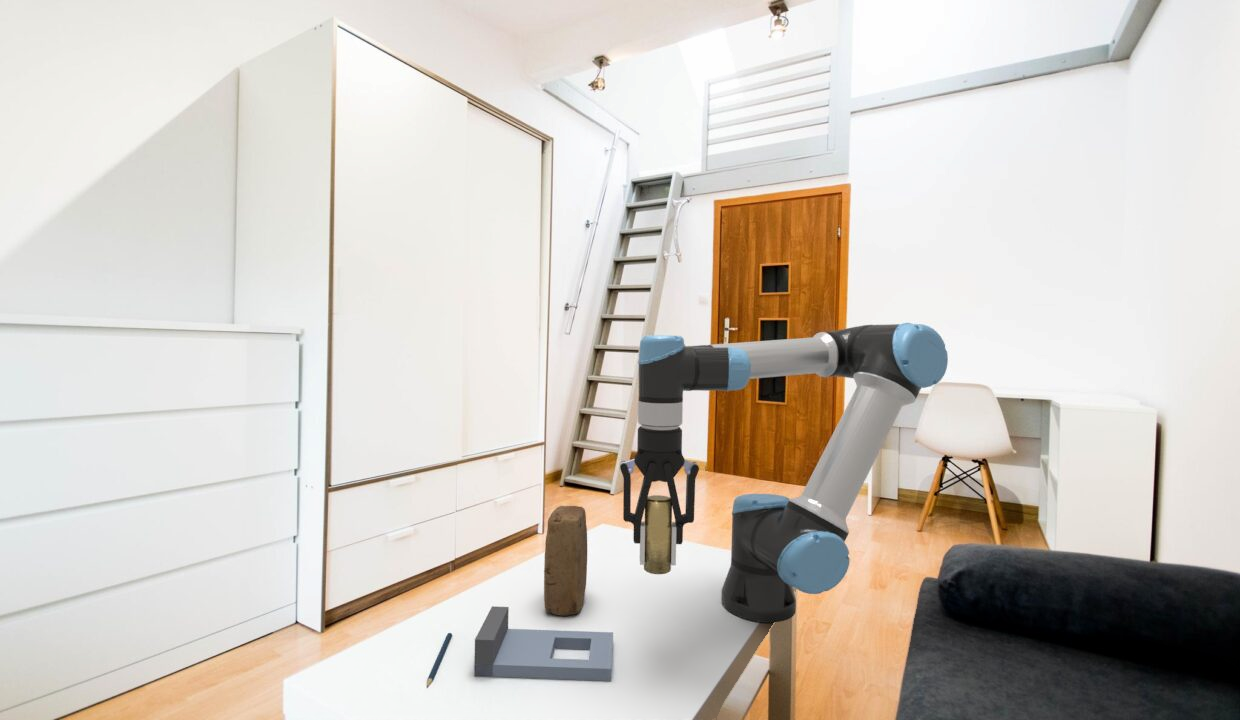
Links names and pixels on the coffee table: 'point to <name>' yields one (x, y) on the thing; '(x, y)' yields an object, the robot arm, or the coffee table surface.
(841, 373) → the robot arm
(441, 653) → the pencil
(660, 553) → the brass cylinder rod
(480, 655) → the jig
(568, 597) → the block
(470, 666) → the coffee table surface
